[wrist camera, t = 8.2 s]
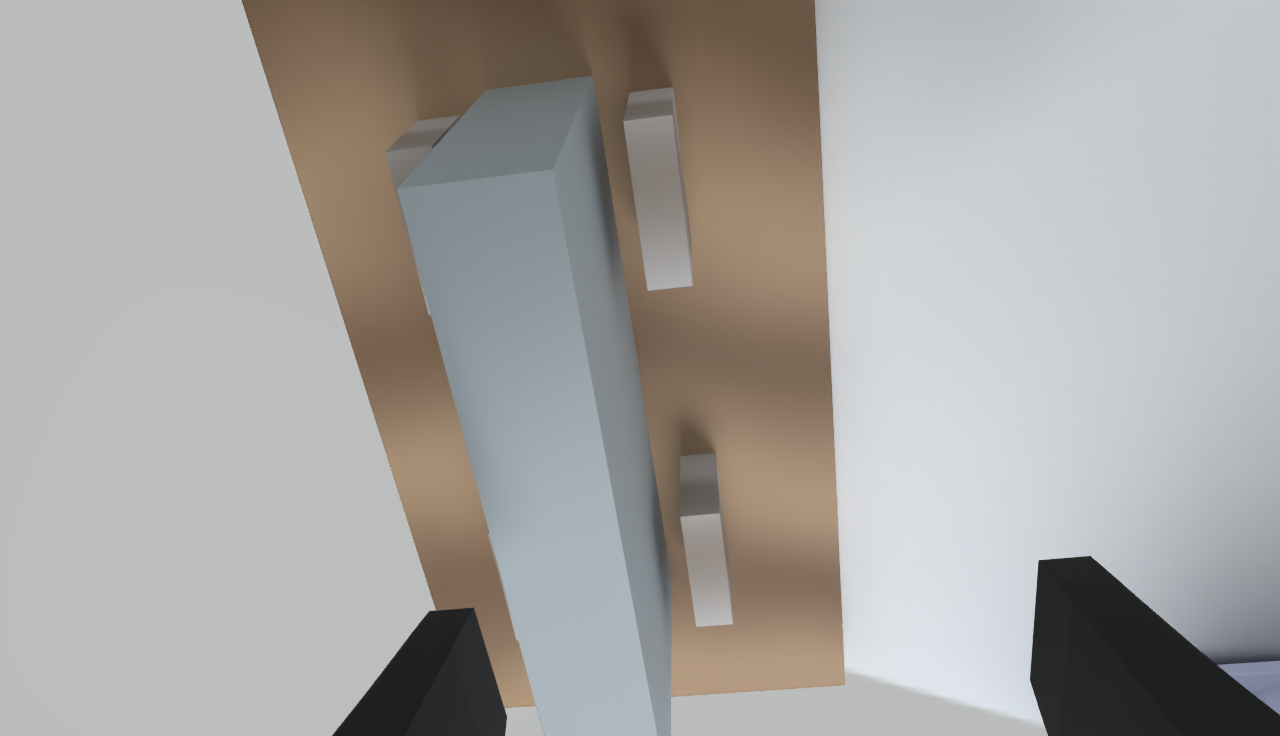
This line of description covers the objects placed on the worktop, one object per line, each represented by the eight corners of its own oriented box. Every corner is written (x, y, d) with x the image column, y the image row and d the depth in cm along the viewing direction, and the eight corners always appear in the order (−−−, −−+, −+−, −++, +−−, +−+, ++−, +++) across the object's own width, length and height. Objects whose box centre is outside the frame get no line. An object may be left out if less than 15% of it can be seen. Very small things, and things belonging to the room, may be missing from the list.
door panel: (672, 582, 22) (669, 802, 17) (590, 588, 22) (563, 808, 17) (592, 75, 17) (552, 169, 11) (485, 90, 17) (397, 189, 12)
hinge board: (838, 655, 25) (859, 757, 22) (475, 681, 25) (449, 782, 23) (796, -223, 15) (823, -245, 12) (227, -129, 16) (131, -130, 13)
